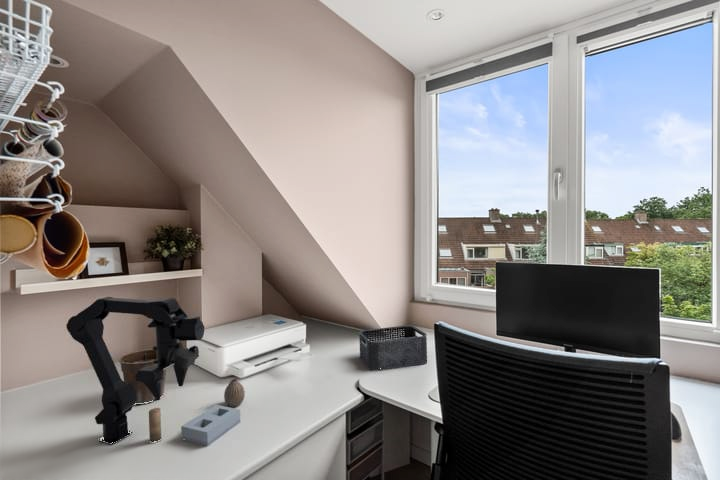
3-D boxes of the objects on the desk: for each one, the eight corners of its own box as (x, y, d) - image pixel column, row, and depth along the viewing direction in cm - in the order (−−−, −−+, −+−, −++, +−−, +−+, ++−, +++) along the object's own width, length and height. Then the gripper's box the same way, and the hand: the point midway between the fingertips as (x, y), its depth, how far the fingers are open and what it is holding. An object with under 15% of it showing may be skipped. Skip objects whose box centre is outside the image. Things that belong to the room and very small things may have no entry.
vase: (237, 398, 134) (237, 374, 134) (248, 403, 130) (248, 379, 129) (220, 405, 129) (219, 380, 128) (231, 411, 124) (230, 385, 124)
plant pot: (171, 385, 146) (170, 345, 146) (169, 402, 132) (168, 358, 131) (124, 393, 139) (122, 352, 139) (116, 412, 125) (115, 366, 124)
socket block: (181, 439, 108) (181, 426, 108) (216, 416, 121) (215, 404, 121) (207, 446, 104) (207, 432, 104) (240, 421, 117) (240, 409, 117)
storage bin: (370, 372, 157) (370, 341, 156) (357, 357, 175) (357, 330, 175) (430, 364, 165) (429, 335, 165) (411, 350, 184) (411, 324, 183)
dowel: (147, 442, 107) (146, 411, 106) (156, 436, 109) (155, 407, 109) (154, 444, 106) (153, 413, 105) (163, 438, 108) (162, 408, 108)
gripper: (166, 352, 97) (170, 409, 98) (210, 332, 115) (213, 381, 116) (132, 351, 100) (135, 407, 100) (180, 331, 118) (182, 379, 118)
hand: (170, 392), depth 108 cm, fingers open, 9 cm apart
